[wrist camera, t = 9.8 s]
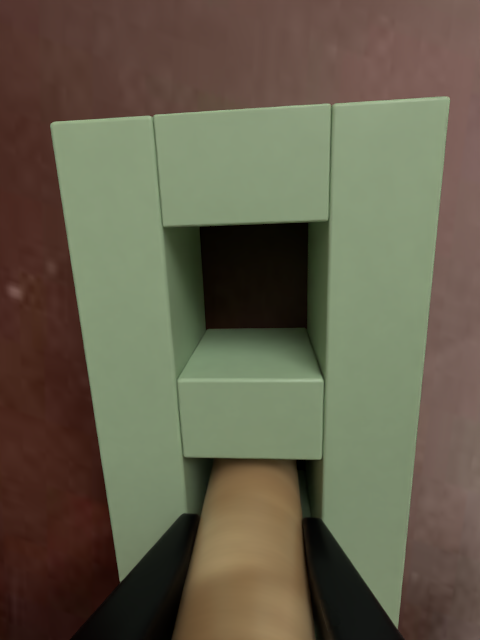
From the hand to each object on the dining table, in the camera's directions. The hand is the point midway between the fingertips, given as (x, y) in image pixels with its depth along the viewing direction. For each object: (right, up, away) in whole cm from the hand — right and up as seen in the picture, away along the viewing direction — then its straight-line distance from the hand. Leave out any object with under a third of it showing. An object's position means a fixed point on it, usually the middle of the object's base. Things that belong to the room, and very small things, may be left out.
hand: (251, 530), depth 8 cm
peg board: (0, +1, +4) cm, 4 cm away
